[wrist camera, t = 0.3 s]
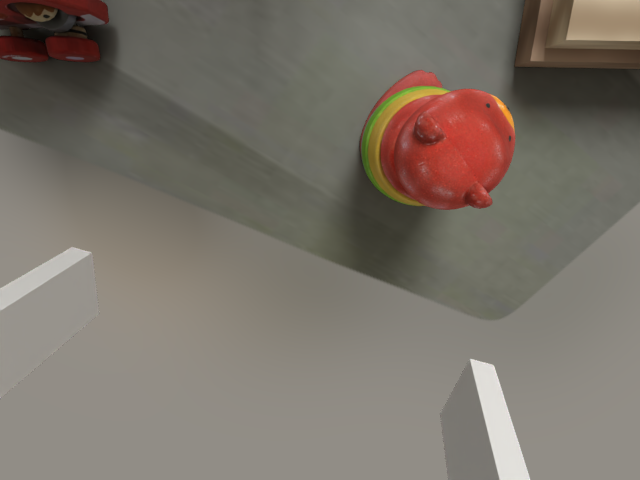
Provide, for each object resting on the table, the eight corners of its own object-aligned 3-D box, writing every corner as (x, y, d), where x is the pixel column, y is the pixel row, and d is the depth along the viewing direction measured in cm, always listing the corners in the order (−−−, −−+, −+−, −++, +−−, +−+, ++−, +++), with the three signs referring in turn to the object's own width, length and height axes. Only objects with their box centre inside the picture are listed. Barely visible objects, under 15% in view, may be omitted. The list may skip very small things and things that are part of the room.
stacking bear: (480, 159, 36) (603, 188, 19) (392, 214, 39) (432, 282, 22) (427, 61, 34) (513, -5, 17) (335, 124, 36) (332, 122, 19)
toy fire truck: (127, 61, 36) (45, 36, 26) (6, 64, 36) (-121, 40, 26) (115, -22, 34) (20, -85, 24) (-14, -18, 34) (-159, -77, 24)
